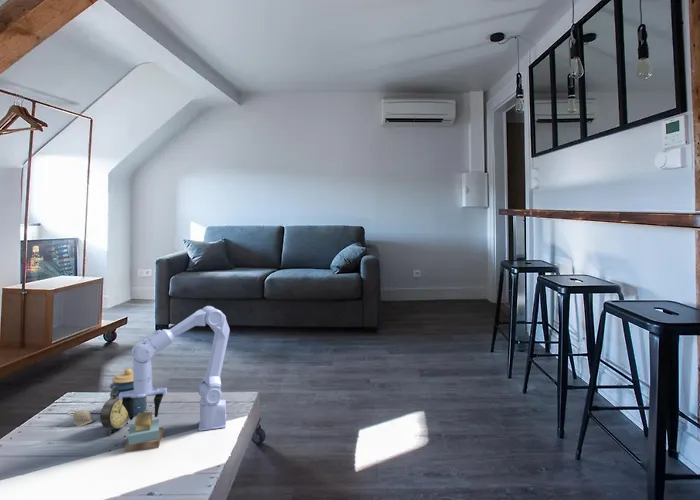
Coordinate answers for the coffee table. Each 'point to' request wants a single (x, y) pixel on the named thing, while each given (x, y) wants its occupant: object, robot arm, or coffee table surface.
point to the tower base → (145, 444)
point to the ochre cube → (143, 421)
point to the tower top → (144, 433)
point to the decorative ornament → (81, 417)
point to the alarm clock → (114, 413)
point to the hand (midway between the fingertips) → (144, 417)
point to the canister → (127, 384)
